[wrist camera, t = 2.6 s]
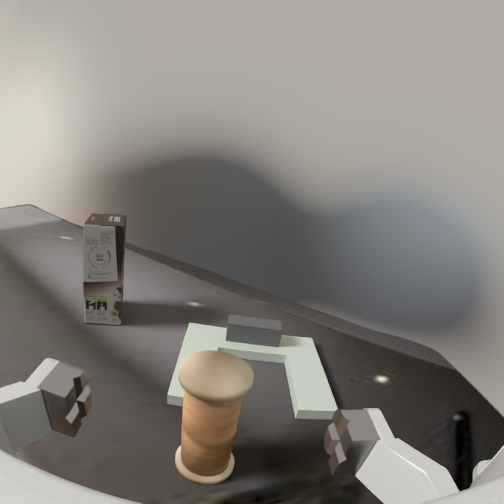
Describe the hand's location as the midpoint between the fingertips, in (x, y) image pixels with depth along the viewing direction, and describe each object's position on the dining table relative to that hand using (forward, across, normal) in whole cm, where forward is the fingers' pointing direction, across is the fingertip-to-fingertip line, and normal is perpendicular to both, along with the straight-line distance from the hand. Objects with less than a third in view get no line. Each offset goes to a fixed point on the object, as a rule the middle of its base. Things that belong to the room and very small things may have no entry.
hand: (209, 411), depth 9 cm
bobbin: (+12, 0, +19) cm, 23 cm away
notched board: (+29, -6, +19) cm, 35 cm away
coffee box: (+39, +20, +20) cm, 48 cm away
